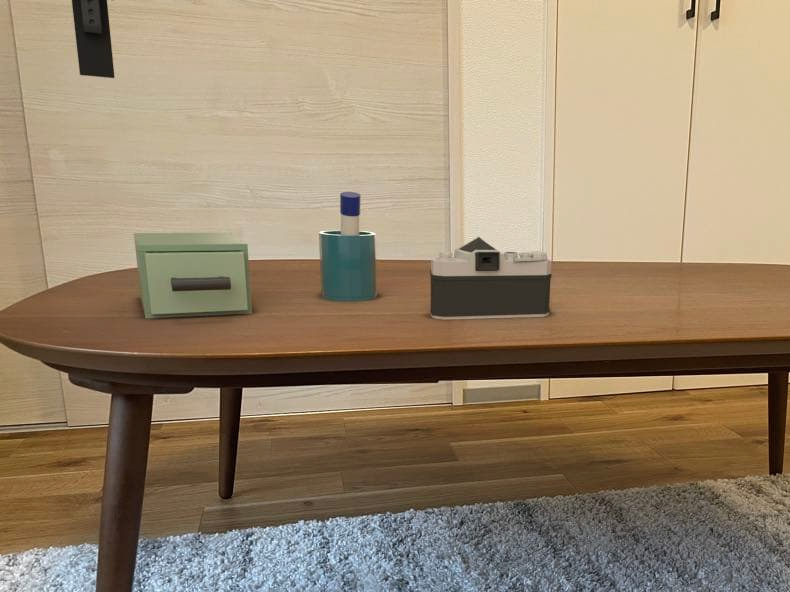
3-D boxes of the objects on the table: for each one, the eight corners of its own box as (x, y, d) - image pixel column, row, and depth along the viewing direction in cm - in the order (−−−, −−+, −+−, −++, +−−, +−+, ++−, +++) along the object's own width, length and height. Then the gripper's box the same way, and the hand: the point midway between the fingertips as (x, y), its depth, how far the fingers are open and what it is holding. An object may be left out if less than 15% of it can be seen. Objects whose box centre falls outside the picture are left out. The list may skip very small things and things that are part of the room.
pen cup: (329, 304, 103) (326, 235, 101) (316, 295, 109) (313, 230, 107) (383, 302, 107) (382, 235, 104) (368, 293, 113) (366, 230, 110)
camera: (533, 307, 108) (536, 233, 105) (557, 319, 100) (561, 240, 97) (420, 310, 102) (420, 232, 99) (436, 323, 94) (436, 239, 91)
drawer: (253, 316, 89) (249, 257, 87) (153, 321, 84) (146, 258, 82) (233, 293, 103) (229, 241, 101) (146, 296, 98) (140, 242, 96)
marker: (342, 295, 106) (343, 197, 99) (337, 288, 108) (338, 191, 101) (361, 294, 107) (363, 197, 101) (356, 287, 109) (357, 191, 103)
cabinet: (252, 315, 94) (247, 243, 92) (145, 320, 89) (137, 244, 86) (236, 297, 106) (231, 232, 103) (141, 300, 100) (133, 233, 98)
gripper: (118, -259, 59) (147, 75, 66) (115, -197, 70) (140, 84, 77) (0, -291, 56) (43, 65, 63) (16, -221, 66) (52, 76, 73)
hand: (97, 75), depth 70 cm, fingers closed
